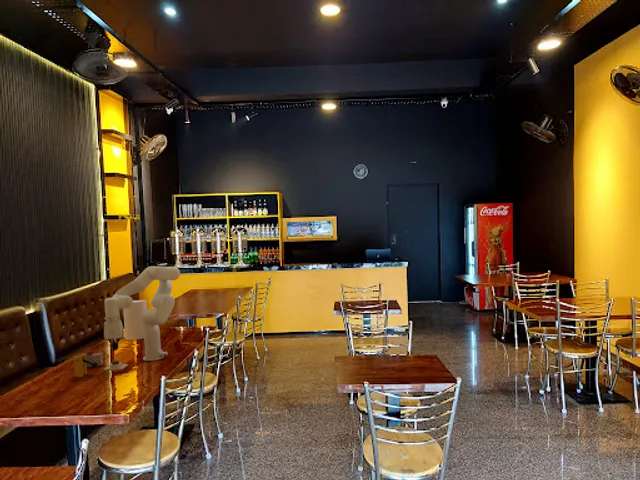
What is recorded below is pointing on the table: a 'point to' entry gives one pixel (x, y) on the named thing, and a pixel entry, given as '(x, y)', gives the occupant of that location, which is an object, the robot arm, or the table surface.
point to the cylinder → (134, 320)
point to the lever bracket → (80, 365)
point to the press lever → (90, 362)
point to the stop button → (115, 362)
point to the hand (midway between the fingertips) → (115, 349)
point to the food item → (94, 358)
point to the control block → (115, 366)
